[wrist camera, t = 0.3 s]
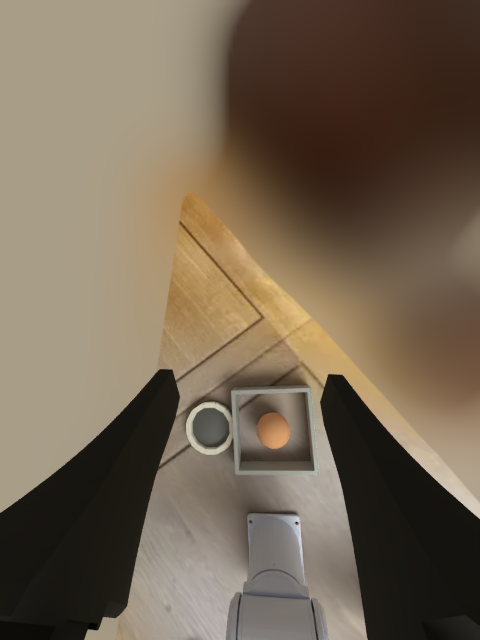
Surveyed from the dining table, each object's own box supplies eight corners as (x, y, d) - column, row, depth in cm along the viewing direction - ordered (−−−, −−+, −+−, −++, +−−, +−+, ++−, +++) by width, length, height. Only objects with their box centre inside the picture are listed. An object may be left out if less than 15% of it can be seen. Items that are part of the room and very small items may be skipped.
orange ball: (289, 440, 37) (293, 455, 32) (258, 441, 37) (257, 455, 32) (287, 408, 37) (289, 417, 33) (256, 409, 38) (254, 418, 33)
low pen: (315, 465, 36) (319, 475, 33) (237, 465, 37) (235, 474, 34) (307, 384, 38) (311, 387, 35) (234, 387, 39) (231, 390, 36)
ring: (236, 451, 38) (235, 454, 36) (189, 451, 39) (186, 454, 37) (234, 400, 39) (233, 402, 38) (188, 402, 40) (185, 403, 38)
